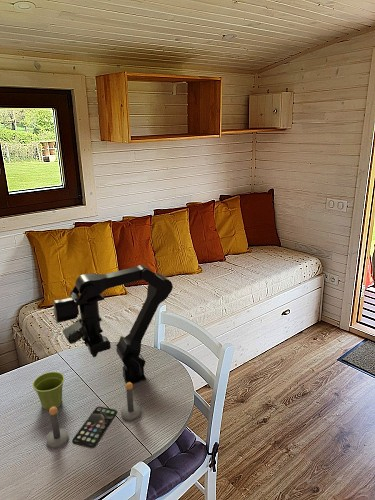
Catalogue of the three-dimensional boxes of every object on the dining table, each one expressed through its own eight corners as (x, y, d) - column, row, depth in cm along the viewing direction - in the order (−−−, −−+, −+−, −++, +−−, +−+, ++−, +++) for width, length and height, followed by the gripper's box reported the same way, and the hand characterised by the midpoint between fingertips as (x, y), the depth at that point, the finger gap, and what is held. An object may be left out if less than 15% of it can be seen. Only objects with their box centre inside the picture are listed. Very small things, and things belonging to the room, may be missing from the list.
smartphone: (118, 410, 119) (94, 447, 105) (118, 412, 119) (94, 449, 105) (97, 405, 121) (70, 441, 107) (97, 407, 121) (70, 443, 107)
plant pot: (57, 416, 117) (54, 392, 114) (30, 411, 118) (26, 388, 116) (72, 395, 125) (69, 373, 123) (46, 391, 127) (43, 370, 124)
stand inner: (136, 404, 122) (134, 374, 118) (143, 416, 116) (142, 385, 113) (118, 410, 119) (116, 380, 115) (124, 423, 114) (122, 392, 110)
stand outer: (66, 428, 112) (62, 397, 108) (70, 443, 107) (66, 410, 103) (44, 436, 109) (39, 404, 106) (48, 451, 104) (42, 418, 101)
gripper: (56, 308, 123) (62, 350, 128) (71, 335, 107) (77, 380, 113) (90, 300, 128) (95, 340, 133) (109, 324, 113) (113, 368, 118)
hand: (94, 356), depth 124 cm, fingers closed
